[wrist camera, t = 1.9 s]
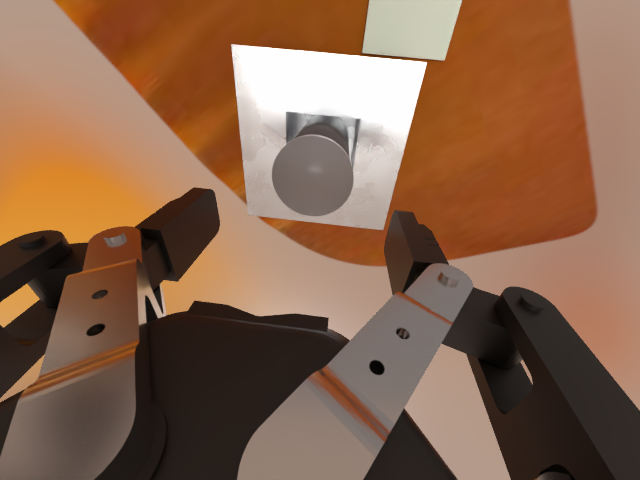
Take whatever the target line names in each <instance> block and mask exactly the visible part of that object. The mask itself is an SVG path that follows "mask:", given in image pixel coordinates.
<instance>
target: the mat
mask: <svg viewBox="0 0 640 480" xmlns="http://www.w3.org/2000/svg"><path fill="white" fill-rule="evenodd" d="M461 2H462V0H369V5H368V12H367V20H366V27H365V34H364V41H363V49H362V53H364V54H375V55H386V56H397V57H408V58H419V59H430V60H441V61H444V60H445V57H446V53H447V50H448V47H449V43H450V40H451V36H452V33H453V30H454V26H455V23H456V19H457V16H458V13H459V9H460V6H461Z"/></svg>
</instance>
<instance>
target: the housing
mask: <svg viewBox="0 0 640 480" xmlns="http://www.w3.org/2000/svg"><path fill="white" fill-rule="evenodd" d="M231 47H232V57H233V67H234V77H235V87H236V97H237V107H238V117H239V127H240V137H241V148H242V158H243V168H244V178H245V188H246V198H247V208H248V215H253V216H262V217H271V218H280V219H288V220H297V221H306V222H315V223H324V224H333V225H342V226H351V227H359V228H368V229H377V230H383V228H384V224H385V221H386V217H387V213H388V209H389V205H390V202H391V198H392V194H393V190H394V186H395V183H396V179H397V175H398V171H399V167H400V163H401V160H402V156H403V152H404V148H405V144H406V141H407V137H408V133H409V129H410V125H411V122H412V118H413V114H414V110H415V106H416V102H417V99H418V95H419V91H420V87H421V83H422V80H423V76H424V72H425V68H426V64H427V62H418V61H407V60H396V59H385V58H374V57H363V56H353V55H342V54H331V53H320V52H309V51H298V50H287V49H277V48H266V47H255V46H244V45H233V44H231ZM315 115H327V116H337V117H338V118H340V119H341V120H342V121H343V123H344V124H345V126H346V128H347V131H348V136H349V158H350V160H351V163H352V167H353V176H354V181H353V188H352V191H351V194H350V196H349V197H348V199H347V201H346V202H345V203H344V204H343V205H342V206H341V207H340V208H339V209H337V210H336V211H334V212H332V213H330V214H327V215H323V216H306V215H302V214H299V213H297V212H295V211H293V210H291V209H290V208H289V207H287V206H286V205H285V204H284V203H283V202H282V201H281V200H280V198H279V197H278V195H277V193H276V191H275V189H274V186H273V182H272V167H273V163H274V160H275V158H276V156H277V155H278V153H279V152H280V150H281V149H282V148H283V147H284V146H285V145H286V144H287V143H288V142H290V141H291V140H293V139H294V138H295V137H296V135H297V134H298V133H299V132H300V130H301V129H302V128H303V126H304V125H305V124H306V122H307V121H308V120H309V119H310V118H311V117H313V116H315Z"/></svg>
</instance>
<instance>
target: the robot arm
mask: <svg viewBox="0 0 640 480" xmlns="http://www.w3.org/2000/svg"><path fill="white" fill-rule="evenodd" d="M219 226H220V220H219V214H218V208H217V202H216V197H215V193H214V191H213V190H211V189H203V188H192V189H191V190H190V191H188V192H187V193H186V194H184V195H183V196H182V197H180V198H178V199H175V200H173V201H170V202H169V203H167V204H166V205H165V206H163V207H162V208H160V209H159V210H158V211H156V213H154V214H152V215H151V216H149V217H148V218H147V219H145V220H144V221H142V222H141V223H140V224H138V225H137V226H135V227H128V226H127V227H126V226H125V227H116V228H111V229H107V230H105V231H102V232H100V233H98V234H96V235H95V236H93V237H92V238H91V239H90V240H89V242H88V243H75V244H69V243H68V242H67V240H66V238H65V237H64V235H63V234H62V233H61V232H59V231H53V230H46V231H39V232H33V233H29V234H25V235H22V236H20V237H17V238H15V239H13V240H11V241H9V242H7V243H5V244H3V245H1V246H0V302H1V301H2V300H3V299H5V298H7V297H8V296H9V295H11V294H12V293H14V292H15V291H17V290H18V289H20V288H21V287H22V286H23V285H25V284H28V285H29V286H30V287H31V289H32V290H33V291H34V292H35V294H36V295H37V296H38V297H39V298H40V300H39V301H37V302H36V303H35V304H33V305H32V306H31V307H30V308H28V309H27V310H26V311H25V312H23V313H22V314H21V315H20V316H18V317H17V318H16V319H14V320H13V321H12V322H11V323H9V324H8V325H7V326H6V327H4V328H3V327H2V326H1V325H0V398H1V397H2V396H3V395H4V394H5V393H6V392H7V391H8V390H9V389H10V388H11V387H12V386H13V385H14V384H15V383H16V382H17V381H18V380H19V379H20V378H21V377H22V376H23V375H24V374H25V373H26V372H27V371H28V370H29V369H30V368H31V367H32V366H33V365H34V364H35V363H36V362H37V361H38V360H39V359H40V358H41V357H42V356H43V355H44V354H45V356H44V360H43V363H42V367H41V371H40V374H39V377H38V379H37V380H36V382H35V383H33V384H32V385H30V386H28V387H27V388H26V389H25V390H23V391H21V392H19V393H17V394H15V395H13V396H11V397H10V398H8V399H6V400H4V401H2V402H0V480H458V479H457V478H456V477H455V475H454V474H453V473H452V471H451V470H450V469H449V467H448V466H447V465H446V464H445V462H444V461H443V459H442V458H441V457H440V455H439V454H438V453H437V451H436V450H435V449H434V447H433V446H432V445H431V443H430V442H429V441H428V439H427V438H426V437H425V435H424V434H423V433H422V431H421V430H420V429H419V427H418V426H417V425H416V423H415V422H414V421H413V419H412V418H411V417H410V415H409V414H408V413H407V411H406V410H405V409H404V407H405V406H406V404H407V402H408V400H409V399H410V397H411V395H412V394H413V392H414V390H415V388H416V386H417V385H418V383H419V381H420V379H421V378H422V376H423V374H424V373H425V371H426V369H427V367H428V366H429V364H430V362H431V361H432V359H433V357H434V355H435V354H436V352H437V350H438V348H439V347H440V345H441V343H442V344H444V345H447V346H449V347H451V348H454V349H456V350H459V351H461V352H464V353H466V354H467V357H468V360H469V363H470V366H471V368H472V371H473V374H474V377H475V380H476V382H477V385H478V388H479V391H480V394H481V396H482V399H483V402H484V405H485V408H486V411H487V413H488V416H489V419H490V422H491V424H492V427H493V430H494V433H495V436H496V439H497V441H498V444H499V447H500V450H501V453H502V456H503V458H504V461H505V464H506V467H507V470H508V472H509V475H510V478H511V480H640V411H639V410H638V408H637V407H636V406H635V405H634V403H633V402H632V401H631V400H630V399H629V397H628V396H627V395H626V393H625V392H624V391H623V390H622V388H621V387H620V386H619V385H618V384H617V382H616V381H615V380H614V379H613V377H612V376H611V375H610V374H609V372H608V371H607V370H606V369H605V367H604V366H603V365H602V364H601V363H600V362H599V360H598V359H597V358H596V357H595V355H594V354H593V353H592V351H591V350H590V349H589V348H588V347H587V345H586V344H585V343H584V342H583V340H582V339H581V338H580V337H579V336H578V334H577V333H576V332H575V331H574V329H573V328H572V327H571V326H570V325H569V323H568V322H567V321H566V319H565V318H564V317H563V316H562V314H561V313H560V312H559V311H558V310H557V308H556V307H555V306H554V305H553V304H552V303H551V302H549V301H548V300H547V299H545V298H544V297H542V296H541V295H539V294H537V293H535V292H533V291H530V290H528V289H525V288H520V287H508V288H506V289H505V290H504V291H503V292H502V294H501V295H500V296H498V295H495V294H491V293H488V292H485V291H482V290H479V289H476V288H474V287H473V283H472V280H471V279H470V278H469V276H468V275H467V274H465V273H464V272H463V271H461V270H460V269H458V268H456V267H453V266H451V265H449V264H448V262H447V260H446V258H445V256H444V254H443V252H442V250H441V248H440V247H439V244H438V242H437V241H436V239H435V237H434V235H433V233H432V231H431V230H429V229H428V228H427V227H426V226H425V225H423V224H418V222H417V220H416V218H415V216H414V213H413V212H407V211H398V210H395V211H394V212H393V215H392V218H391V222H390V225H389V229H388V233H387V236H386V240H385V246H384V254H385V259H386V264H387V269H388V273H389V279H390V284H391V288H392V294H393V296H392V297H391V298H390V299H389V300H388V302H387V303H386V304H385V305H384V306H383V307H382V308H381V309H380V310H379V311H378V312H377V313H376V314H375V315H374V316H373V317H372V318H371V319H370V320H369V321H368V322H367V324H366V325H365V326H364V327H363V328H362V329H361V330H360V331H359V332H358V333H357V334H356V335H355V336H354V337H353V338H352V339H351V340H348V339H347V338H346V337H344V336H342V335H341V334H339V333H337V332H335V331H333V330H330V329H328V318H326V317H317V316H310V315H302V314H284V315H273V316H255V315H252V314H250V313H247V312H244V311H242V310H239V309H237V308H234V307H231V306H229V305H223V304H216V303H209V302H208V303H207V302H201V301H194V302H193V304H192V305H191V307H190V309H189V310H188V311H185V312H179V313H174V314H171V315H166V308H165V301H164V295H163V289H162V286H161V284H160V283H161V282H162V281H163V280H169V281H179V279H180V278H181V277H182V276H183V274H184V273H185V272H186V271H187V270H188V268H189V267H190V266H191V265H192V264H193V262H194V261H195V260H196V259H197V257H198V256H199V255H200V254H201V253H202V251H203V250H204V249H205V248H206V246H207V245H208V244H209V243H210V241H211V240H212V239H213V238H214V237H215V235H216V234H217V233H218V231H219ZM521 360H524V362H525V364H526V366H527V368H528V370H529V371H530V374H531V376H532V381H533V385H532V383H531V382H530V379H529V378H528V376H527V374H526V372H525V370H524V368H523V366H522V364H521V363H520V362H521Z"/></svg>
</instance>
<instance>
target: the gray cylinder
mask: <svg viewBox="0 0 640 480" xmlns="http://www.w3.org/2000/svg"><path fill="white" fill-rule="evenodd" d="M353 181H354V176H353V167H352V163H351V160H350V158H349V136H348V131H347V128H346V126H345V124H344V123H343V121H342V120H341V119H340V118H338V117H337V116H327V115H315V116H313V117H311V118H310V119H309V120H308V121H307V122H306V124H305V125H304V126H303V128H302V129H301V130H300V132H299V133H298V134H297V135H296V137H295V138H294V139H293V140H291V141H290V142H288V143H287V144H286V145H285V146H284V147H283V148H282V149H281V150H280V152H279V153H278V155H277V156H276V158H275V160H274V163H273V167H272V182H273V186H274V189H275V191H276V193H277V195H278V197H279V198H280V200H281V201H282V202H283V203H284V204H285V205H286V206H287V207H289V208H290V209H291V210H293V211H295V212H297V213H299V214H302V215H306V216H323V215H327V214H330V213H332V212H334V211H336V210H337V209H339V208H340V207H341V206H342V205H343V204H344V203H345V202H346V201H347V199H348V197H349V196H350V194H351V191H352V188H353Z"/></svg>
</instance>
